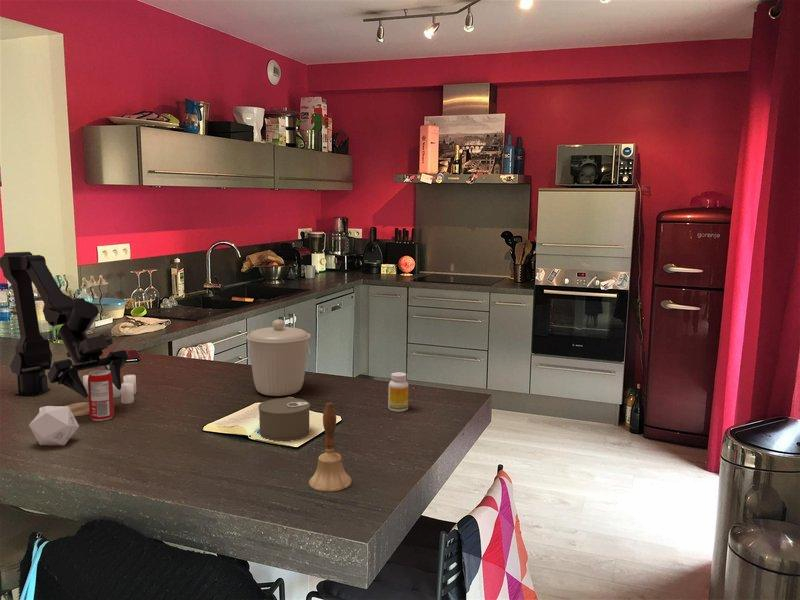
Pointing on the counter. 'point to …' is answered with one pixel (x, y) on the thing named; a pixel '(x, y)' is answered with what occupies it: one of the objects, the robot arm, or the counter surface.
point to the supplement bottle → (398, 392)
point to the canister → (278, 358)
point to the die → (54, 425)
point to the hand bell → (329, 459)
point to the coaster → (79, 408)
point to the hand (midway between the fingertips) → (103, 392)
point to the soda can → (100, 395)
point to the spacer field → (125, 392)
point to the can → (284, 419)
